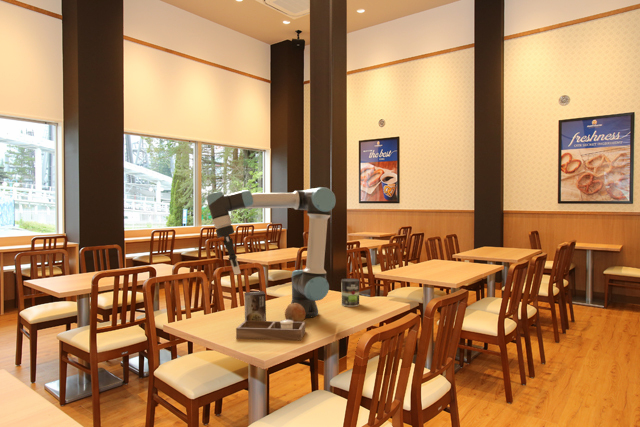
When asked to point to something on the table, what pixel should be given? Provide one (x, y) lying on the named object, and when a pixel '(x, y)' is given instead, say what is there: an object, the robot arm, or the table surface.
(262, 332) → the caddy
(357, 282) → the coffee can
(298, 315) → the onion
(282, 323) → the cream jug
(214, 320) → the table surface
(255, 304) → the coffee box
